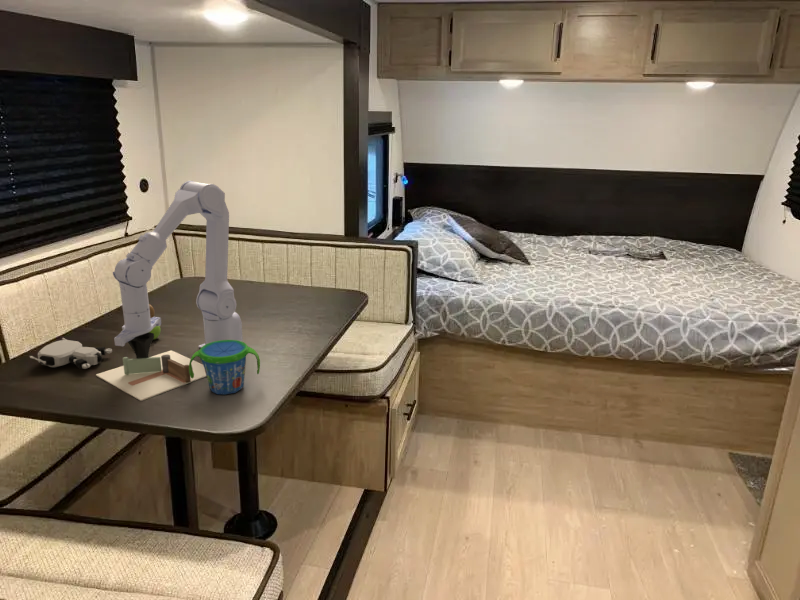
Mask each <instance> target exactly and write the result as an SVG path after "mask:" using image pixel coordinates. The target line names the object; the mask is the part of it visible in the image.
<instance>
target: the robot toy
mask: <svg viewBox="0 0 800 600" xmlns="http://www.w3.org/2000/svg"><path fill="white" fill-rule="evenodd" d="M112 352H113V349H112V348H106V347H105V346H102V347H101V346H100V347H99V346H98V347H91V346H90V347H89V346H83V344H82V342H80V341H78V340H77V341H76V340H69V339H66V338H64V337H62V338H61V340H56V341H53V342H51V343H49V344H47V345H45V346H44V347H42V348H41V349H40V350H39V351H37V357H35V356H33V355H29V358H30V359H33V360H36V361H37V362H38V363H40V364H41V365H42V366H47V367H49V368H58V367H61V366H62V367H63V366H65V365H68V364H70V363H71V364H74V365H75V366H76V368H78V369H80V370H81V369H82V370H83V369H84V370H86V369H88V368H90V367H91V366H95V365H98V364H99V363H101V362H102V361H103V356H106V354H111V353H112Z"/></svg>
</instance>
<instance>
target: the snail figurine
mask: <svg viewBox="0 0 800 600" xmlns="http://www.w3.org/2000/svg"><path fill="white" fill-rule="evenodd" d="M149 309H150V318H152V317H155V313H156V312H155V309H154V307H153V306H152V305H151V304H150V303H149ZM161 331H162V330H161V325H160V326H155V327H154V328H153V329H152V330H151V331H150V332H149V333H153V334H154V338H153V340H152V341H154V340H156V339H157V338H159V336H160V334H161Z"/></svg>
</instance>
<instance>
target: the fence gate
mask: <svg viewBox="0 0 800 600" xmlns="http://www.w3.org/2000/svg"><path fill="white" fill-rule="evenodd" d="M122 366H124V373H125V374H134V373H147V372H160V371H162V369H161V359H160V357H152V356H148V358H136V357H135V358H129V357H128V356H124V357H122Z"/></svg>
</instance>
